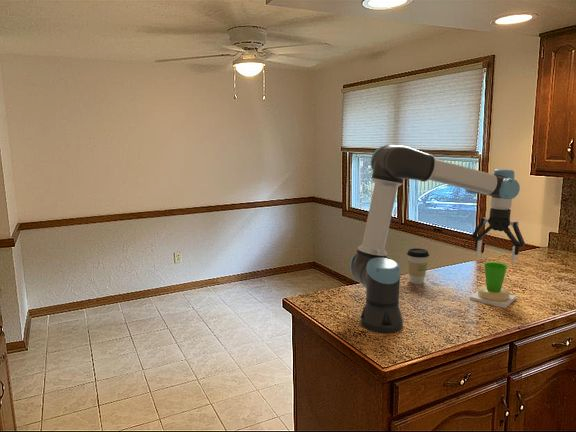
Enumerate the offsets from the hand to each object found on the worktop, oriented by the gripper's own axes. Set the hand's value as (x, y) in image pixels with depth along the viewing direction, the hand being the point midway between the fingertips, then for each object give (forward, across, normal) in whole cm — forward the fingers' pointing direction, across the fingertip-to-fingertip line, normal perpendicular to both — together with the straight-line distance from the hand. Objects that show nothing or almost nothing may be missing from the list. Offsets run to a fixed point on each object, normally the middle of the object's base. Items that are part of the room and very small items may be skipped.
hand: (495, 259), depth 182 cm
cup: (+14, 0, -1) cm, 14 cm away
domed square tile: (+17, 0, -1) cm, 17 cm away
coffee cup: (+18, +34, 0) cm, 38 cm away
